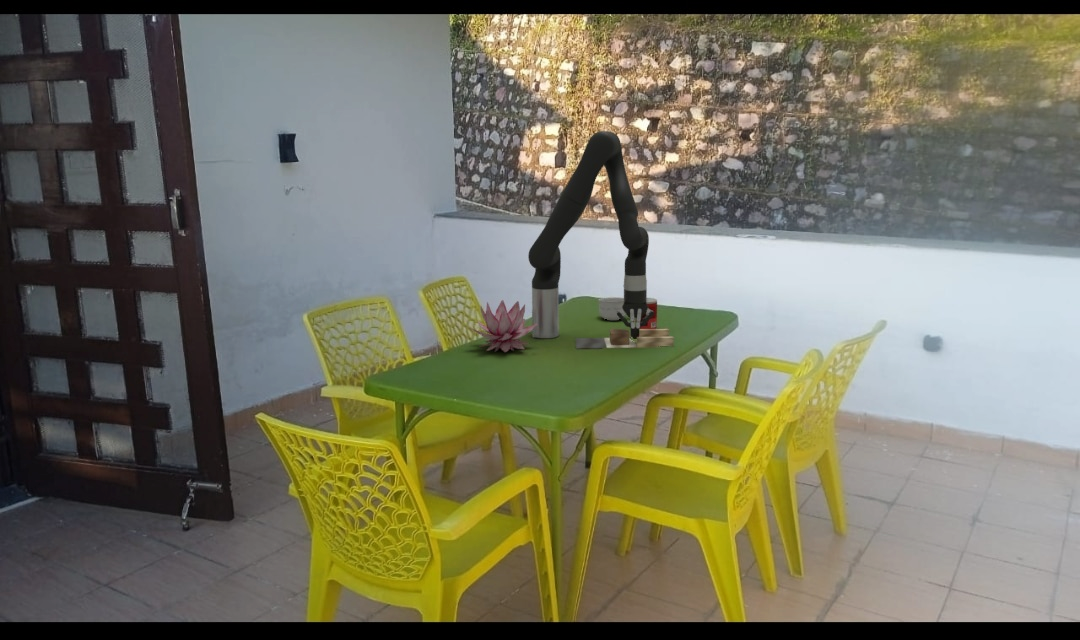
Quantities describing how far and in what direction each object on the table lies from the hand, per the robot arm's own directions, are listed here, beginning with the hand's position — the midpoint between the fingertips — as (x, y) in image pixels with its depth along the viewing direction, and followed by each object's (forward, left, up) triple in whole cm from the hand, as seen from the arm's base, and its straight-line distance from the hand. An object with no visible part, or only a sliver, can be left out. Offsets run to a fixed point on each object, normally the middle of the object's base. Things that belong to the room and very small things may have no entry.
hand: (634, 338), depth 272 cm
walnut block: (-5, 0, -1) cm, 5 cm away
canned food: (+6, +19, -2) cm, 20 cm away
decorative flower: (-44, -5, -2) cm, 44 cm away
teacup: (-3, +36, -2) cm, 36 cm away
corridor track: (-4, 0, -2) cm, 4 cm away
